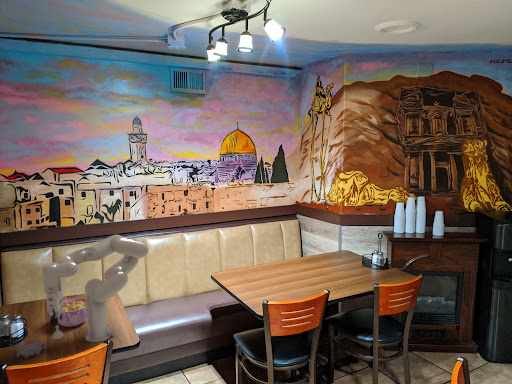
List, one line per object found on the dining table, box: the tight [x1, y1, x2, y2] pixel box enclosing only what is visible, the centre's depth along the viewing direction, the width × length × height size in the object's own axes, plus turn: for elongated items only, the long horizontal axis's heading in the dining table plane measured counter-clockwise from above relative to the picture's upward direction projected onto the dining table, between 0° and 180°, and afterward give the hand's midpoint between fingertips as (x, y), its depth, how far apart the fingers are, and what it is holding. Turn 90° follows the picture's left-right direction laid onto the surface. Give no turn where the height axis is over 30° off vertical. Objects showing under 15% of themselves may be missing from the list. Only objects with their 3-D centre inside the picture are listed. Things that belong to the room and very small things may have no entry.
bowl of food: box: [58, 297, 88, 328], centre depth 217 cm, size 20×20×12 cm
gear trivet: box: [16, 341, 47, 359], centre depth 188 cm, size 13×13×2 cm
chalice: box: [49, 301, 65, 340], centre depth 188 cm, size 7×7×18 cm
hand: (56, 322), depth 189 cm, fingers closed on chalice, 5 cm apart
